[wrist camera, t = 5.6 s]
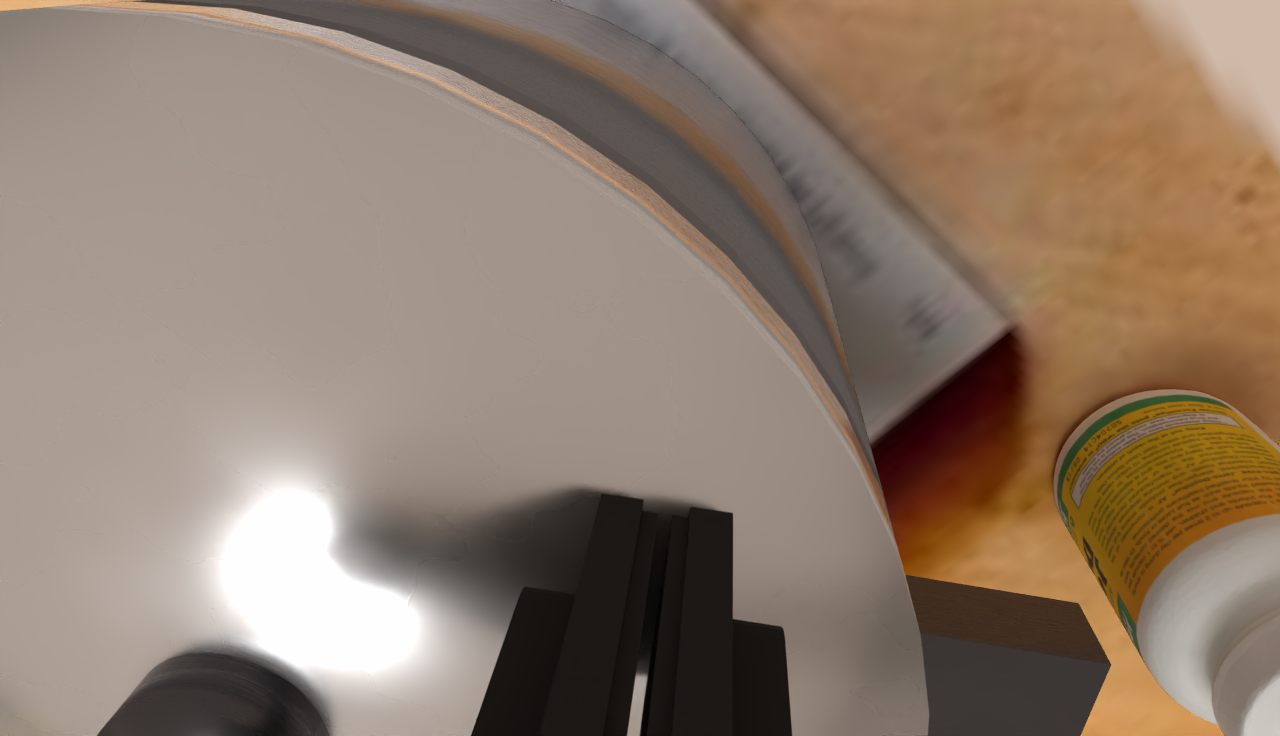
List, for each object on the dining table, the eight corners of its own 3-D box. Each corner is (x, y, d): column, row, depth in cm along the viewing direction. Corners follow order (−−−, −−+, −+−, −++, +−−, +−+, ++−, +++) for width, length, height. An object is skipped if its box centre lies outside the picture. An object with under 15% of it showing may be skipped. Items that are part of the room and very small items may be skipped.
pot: (1061, 67, 21) (1397, 165, 10) (869, 706, 30) (945, 1138, 19) (-33, -84, 23) (-764, -137, 12) (73, 570, 31) (-297, 901, 20)
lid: (1109, 131, 10) (1209, 181, 8) (775, 1117, 19) (779, 1271, 16) (-570, -105, 11) (-897, -119, 9) (-153, 939, 19) (-266, 1064, 17)
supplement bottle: (1298, 453, 25) (1604, 719, 16) (1144, 580, 27) (1342, 878, 18) (1151, 343, 24) (1388, 558, 15) (1005, 483, 26) (1139, 744, 17)
